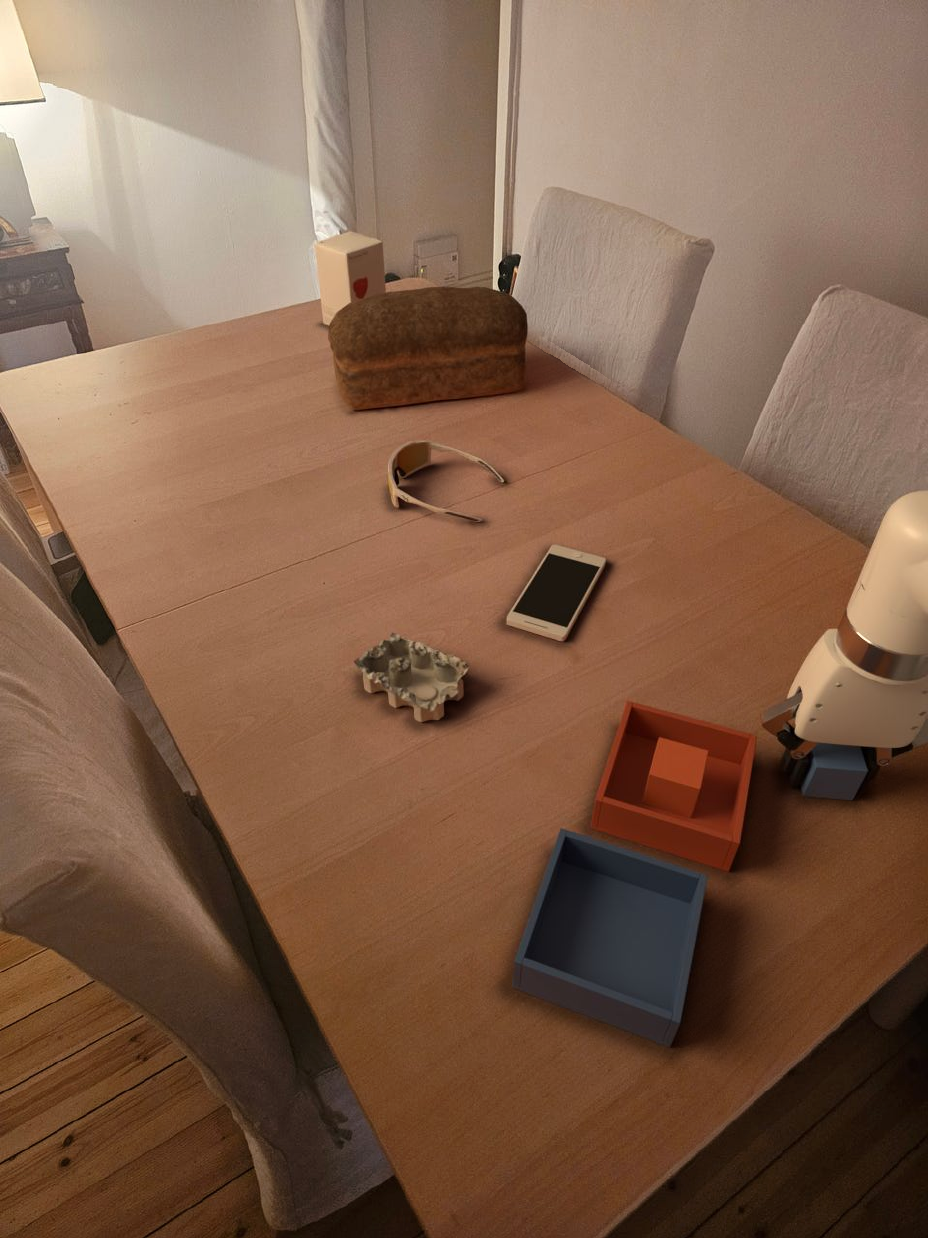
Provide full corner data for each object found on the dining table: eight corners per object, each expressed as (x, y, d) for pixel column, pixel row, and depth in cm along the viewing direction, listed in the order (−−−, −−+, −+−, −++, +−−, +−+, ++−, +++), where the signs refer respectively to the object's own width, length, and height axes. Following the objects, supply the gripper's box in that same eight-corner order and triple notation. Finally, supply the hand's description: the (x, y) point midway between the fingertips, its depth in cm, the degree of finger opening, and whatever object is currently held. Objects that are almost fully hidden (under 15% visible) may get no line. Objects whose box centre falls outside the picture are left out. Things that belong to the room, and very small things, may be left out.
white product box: (353, 337, 151) (345, 253, 141) (322, 324, 156) (312, 241, 146) (389, 322, 156) (384, 240, 146) (358, 310, 161) (350, 229, 150)
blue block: (841, 762, 79) (856, 732, 76) (852, 801, 76) (868, 771, 73) (793, 758, 79) (806, 728, 76) (802, 796, 76) (816, 767, 73)
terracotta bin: (746, 765, 79) (757, 735, 76) (728, 872, 70) (740, 843, 67) (621, 730, 82) (627, 700, 79) (590, 828, 74) (595, 799, 71)
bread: (331, 375, 140) (319, 281, 129) (511, 355, 145) (514, 263, 134) (340, 416, 130) (328, 317, 119) (534, 394, 134) (539, 297, 124)
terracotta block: (699, 780, 77) (708, 750, 74) (691, 819, 74) (700, 789, 71) (651, 766, 78) (659, 736, 75) (641, 804, 75) (649, 774, 72)
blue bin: (697, 903, 68) (708, 874, 65) (669, 1048, 60) (680, 1023, 57) (556, 856, 72) (560, 827, 69) (512, 988, 63) (514, 961, 60)
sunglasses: (409, 455, 120) (412, 426, 117) (506, 486, 118) (512, 457, 115) (369, 508, 111) (371, 478, 107) (474, 543, 108) (479, 513, 105)
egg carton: (474, 691, 86) (474, 664, 83) (426, 734, 82) (424, 707, 79) (400, 645, 91) (398, 618, 89) (351, 684, 87) (347, 656, 84)
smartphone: (606, 563, 102) (607, 557, 101) (564, 642, 91) (564, 636, 91) (552, 548, 104) (552, 542, 103) (504, 624, 94) (505, 618, 93)
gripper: (985, 614, 67) (906, 753, 79) (770, 600, 69) (725, 739, 81) (1020, 681, 62) (929, 819, 74) (786, 664, 63) (735, 802, 75)
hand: (823, 776), depth 77 cm, fingers open, 5 cm apart
